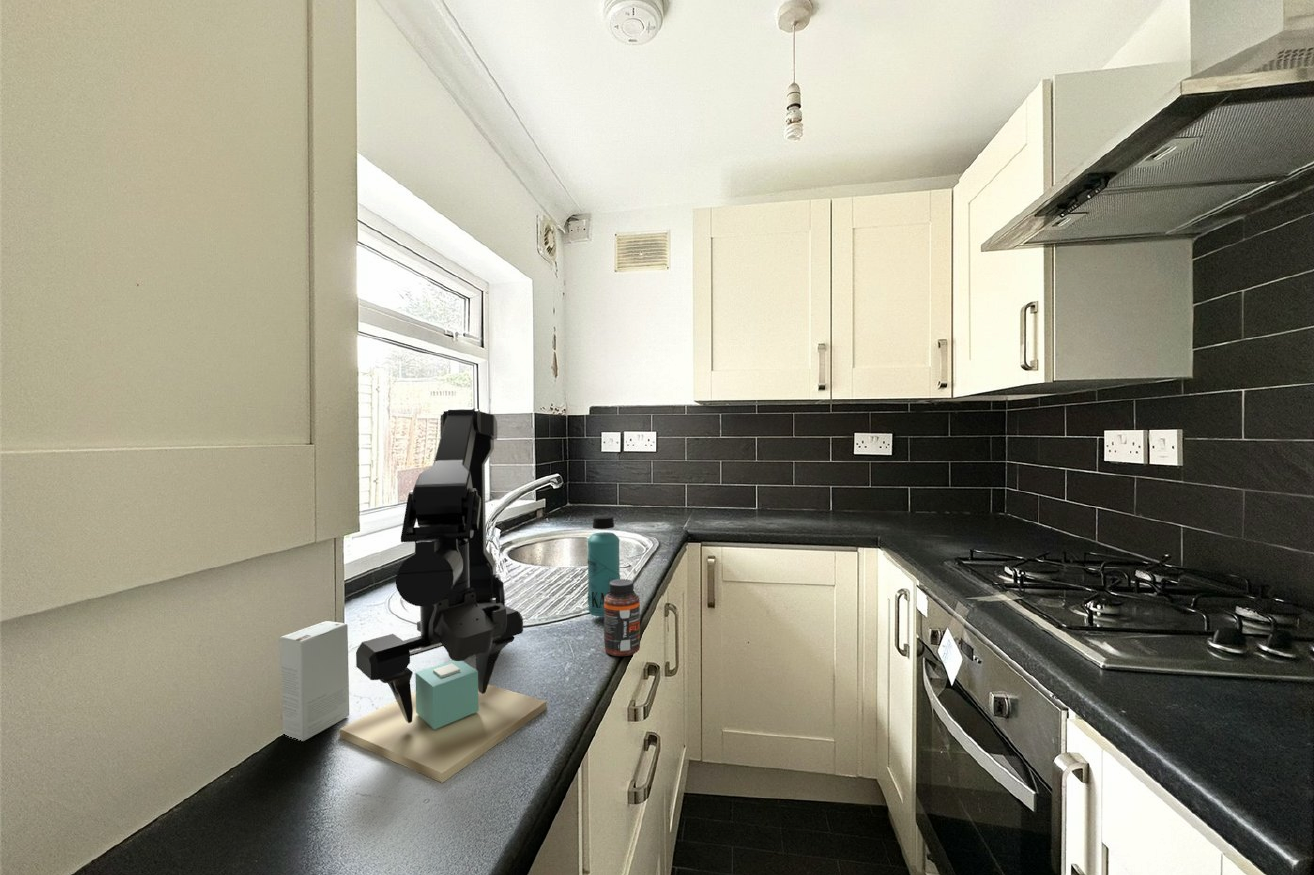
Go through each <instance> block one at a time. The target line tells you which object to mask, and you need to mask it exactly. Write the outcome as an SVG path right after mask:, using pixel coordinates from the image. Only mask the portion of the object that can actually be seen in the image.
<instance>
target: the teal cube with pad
mask: <svg viewBox="0 0 1314 875" xmlns="http://www.w3.org/2000/svg"><path fill="white" fill-rule="evenodd" d="M414 673H415V676H414V678H415V691H416V713H417V714H418V715H419V716H420V717H421V718H422V719H423V720H424V721H425V722H426V723H428V724H429V725H430V726H431V727H432V728H433V729H437V728H439V727H441V726H444V725H446V724H449V723H451V722H454V721H456V720H458V719H461V718H463V717H466V716H468V715H471V714H473V713H475V712H478V711H479V702H478V671H477V670H476V668H474V667H472V665H469V664H468V663H466V662H465V661H464V660H463V661H454V660H452V659H451V660H449V661H446V662H443V663H439V664H437V665H434V666H431V667H427V668H426V669H425V668H424V669H421V670H418V671H415V672H414Z"/></svg>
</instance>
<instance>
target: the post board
mask: <svg viewBox="0 0 1314 875" xmlns="http://www.w3.org/2000/svg"><path fill="white" fill-rule="evenodd" d="M411 697H412V707H413V717H412V722H411V723H408V722H407V721H406V720H405V718H404V716H403V714H402V711H401V709H400V707H399V705H398V703H397V701H396V700H394V701H393V702H391V703H389V704H386V705H385V706H382V707H381V708H379V709H377V710H375V711H373V712H371V713H369V714H367V715H365V716H362V717H360V718H359V719H357V720H355V721H353V722H351V723H349V724H346V725H344V726H343V727H341V728H340V727H339V738H340V739H343V740H345V741H348V742H349V743H351V744H354V745H356V746H358V747H361V748H363V749H365V750H367V751H370V752H372V753H374V754H376V755H379V756H381V757H384V758H385V759H388V760H390V761H392V762H395V763H397V764H399V765H401V766H403V767H406V768H408V769H410V770H411V771H415V772H417V773H419V774H421V775H423V776H426V777H429V778H430V779H433V780H435V781H438V782H439V783H442V784H443V783H444V782H446V781H447V780H449V779H450V778H451V777H453V776H454V775H456V774H457V773H458V772H460V771H461V770H463V769H465V768H466V767H467V766H469V765H470V764H471V763H473V762H474V761H475V760H477V759H478V758H480V757H481V756H482V755H484V754H485V753H487V752H488V751H489V750H491V749H492V748H493V747H495V746H496V745H498V744H499V743H501V742H502V741H504V740H505V739H506V738H508V737H509V736H510V735H513V733H515V732H516V731H517V730H519V729H521V728H523V727H524V726H525V725H526V724H527V723H529V722H530V721H532V720H533V719H535V718H536V717H538V716H539V715H541V713H543V712H544V711H546V710H547V701H546V700H543V699H540V698H537V697H536V698H535V697H534V696H530V695H527V694H524V693H523V694H522V693H520V692H515V691H512V690H509V689H506V688H502V687H499V686H496V685H492V684H489V683H488V686H487V689H486V692H485V693H484V694H481V693H480V692H479V689H478V702H479V711H478V712H475V713H473V714H471V715H468V716H466V717H463V718H461V719H458V720H456V721H454V722H451V723H449V724H446V725H444V726H441V727H439V728H437V729H433V728H432V727H431V726H430V725H429V724H428V723H426V722H425V721H424V720H423V719H422V718H421V717H420V716H419V715H418V714H417V713H416V690H415V691H413V692H411Z"/></svg>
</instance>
